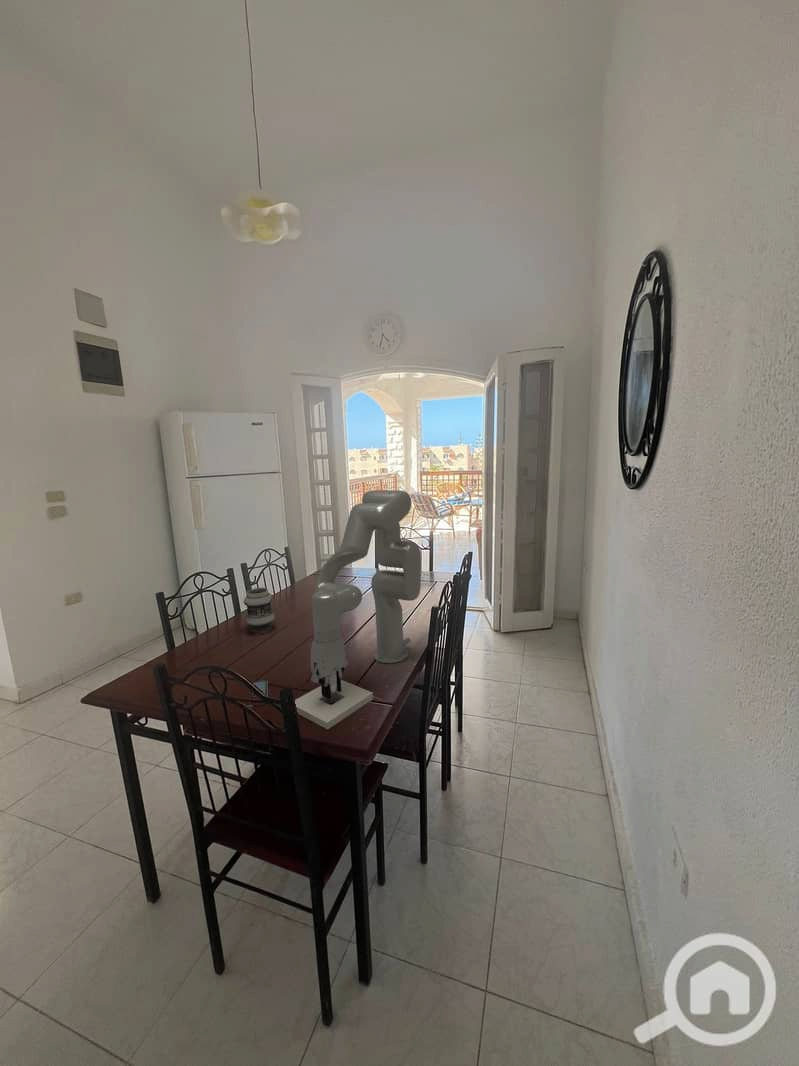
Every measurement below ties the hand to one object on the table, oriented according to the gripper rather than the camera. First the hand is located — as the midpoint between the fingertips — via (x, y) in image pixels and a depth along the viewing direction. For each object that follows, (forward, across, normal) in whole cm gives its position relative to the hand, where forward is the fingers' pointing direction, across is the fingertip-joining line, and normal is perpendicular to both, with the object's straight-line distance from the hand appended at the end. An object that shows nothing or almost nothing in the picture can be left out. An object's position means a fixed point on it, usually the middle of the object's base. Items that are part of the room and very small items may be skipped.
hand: (331, 693), depth 125 cm
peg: (+2, 0, 0) cm, 2 cm away
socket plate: (+4, 0, 0) cm, 4 cm away
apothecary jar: (+4, -21, -67) cm, 70 cm away
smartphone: (+4, +10, -24) cm, 26 cm away
